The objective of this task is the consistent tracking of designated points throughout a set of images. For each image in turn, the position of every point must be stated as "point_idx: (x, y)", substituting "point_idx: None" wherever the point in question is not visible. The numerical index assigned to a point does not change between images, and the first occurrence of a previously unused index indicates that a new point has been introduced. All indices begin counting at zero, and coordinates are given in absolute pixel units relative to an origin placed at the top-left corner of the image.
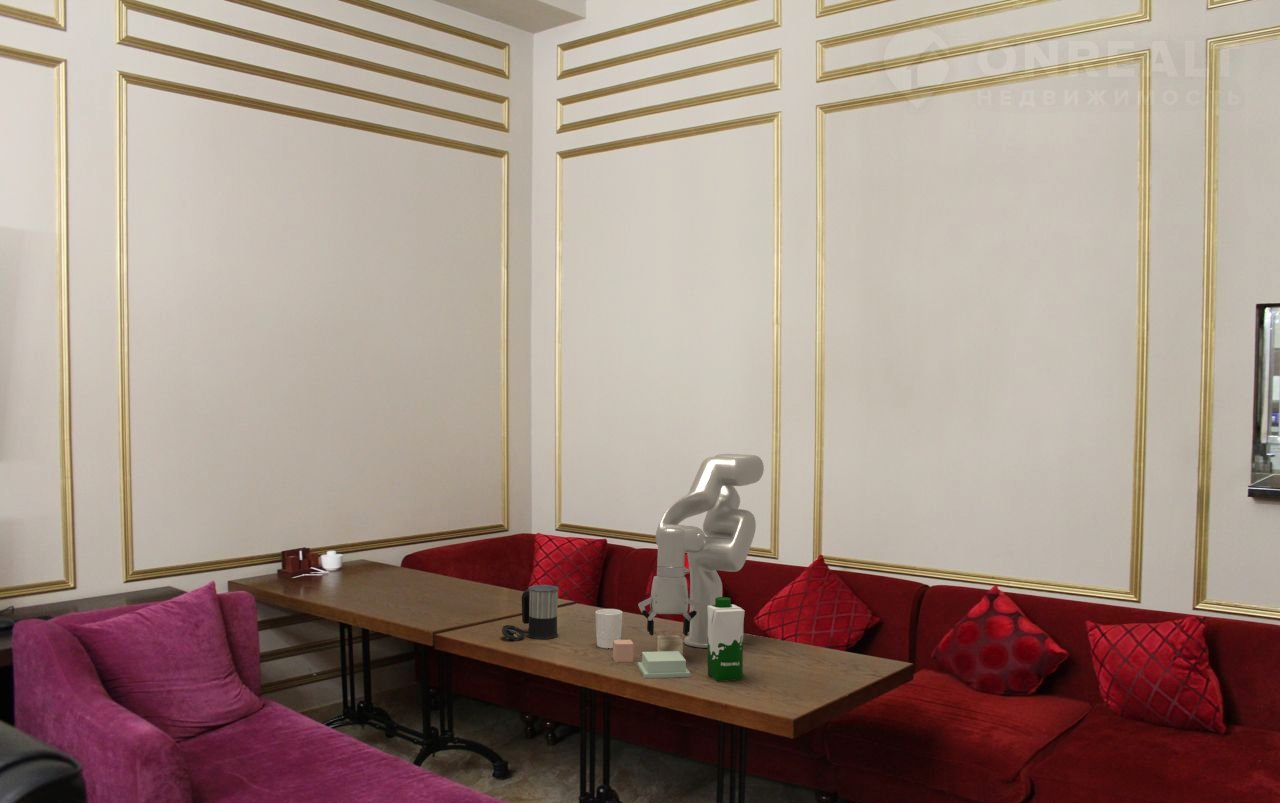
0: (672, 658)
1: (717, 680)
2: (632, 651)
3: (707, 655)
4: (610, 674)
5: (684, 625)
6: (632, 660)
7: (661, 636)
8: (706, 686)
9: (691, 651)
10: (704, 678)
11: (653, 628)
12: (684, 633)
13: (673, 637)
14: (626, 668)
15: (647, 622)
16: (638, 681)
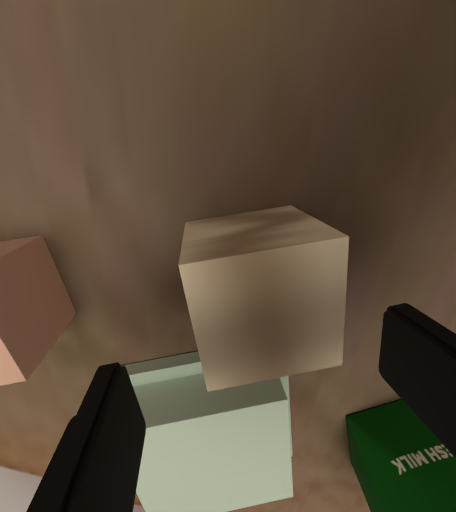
0: (247, 487)
1: (352, 465)
2: (46, 347)
3: (378, 505)
4: (28, 460)
5: (442, 406)
6: (70, 317)
7: (210, 281)
8: (313, 493)
9: (382, 87)
10: (324, 447)
11: (135, 484)
12: (386, 362)
13: (298, 302)
14: (69, 398)
15: (32, 509)
16: (136, 494)
